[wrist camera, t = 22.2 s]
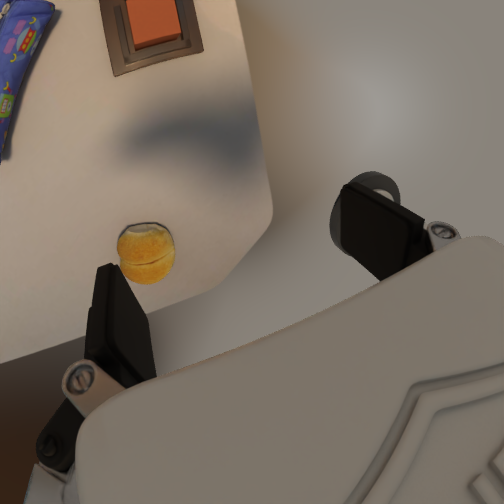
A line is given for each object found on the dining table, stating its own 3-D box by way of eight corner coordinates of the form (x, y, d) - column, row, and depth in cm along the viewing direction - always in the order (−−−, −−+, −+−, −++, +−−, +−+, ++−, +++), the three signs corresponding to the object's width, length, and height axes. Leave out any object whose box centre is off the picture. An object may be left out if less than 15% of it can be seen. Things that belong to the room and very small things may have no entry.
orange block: (168, 0, 21) (172, -11, 18) (176, 39, 24) (181, 32, 21) (127, 11, 20) (125, 0, 17) (135, 51, 23) (134, 44, 20)
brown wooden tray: (182, -38, 18) (190, -55, 14) (202, 52, 27) (212, 44, 23) (97, -17, 16) (92, -32, 12) (114, 77, 25) (110, 72, 21)
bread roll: (124, 279, 39) (124, 296, 36) (114, 226, 35) (112, 239, 31) (175, 272, 42) (180, 288, 39) (172, 219, 37) (176, 232, 34)
